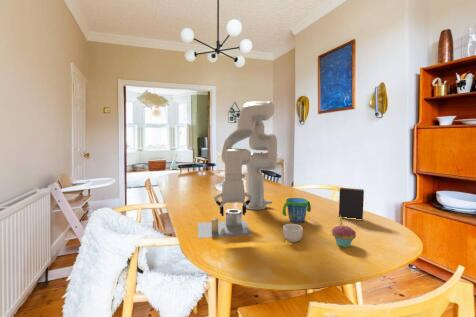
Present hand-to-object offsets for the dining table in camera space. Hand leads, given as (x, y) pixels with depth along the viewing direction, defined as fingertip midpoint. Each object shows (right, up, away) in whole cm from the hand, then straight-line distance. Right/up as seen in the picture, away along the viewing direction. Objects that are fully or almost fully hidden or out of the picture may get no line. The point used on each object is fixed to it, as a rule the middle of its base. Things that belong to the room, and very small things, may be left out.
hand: (233, 214), depth 118 cm
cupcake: (+43, -8, -18) cm, 47 cm away
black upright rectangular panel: (+59, -5, +14) cm, 61 cm away
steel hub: (0, -4, +1) cm, 4 cm away
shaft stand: (-4, -6, -5) cm, 9 cm away
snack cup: (+31, -5, +11) cm, 33 cm away
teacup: (+25, -7, -12) cm, 28 cm away
